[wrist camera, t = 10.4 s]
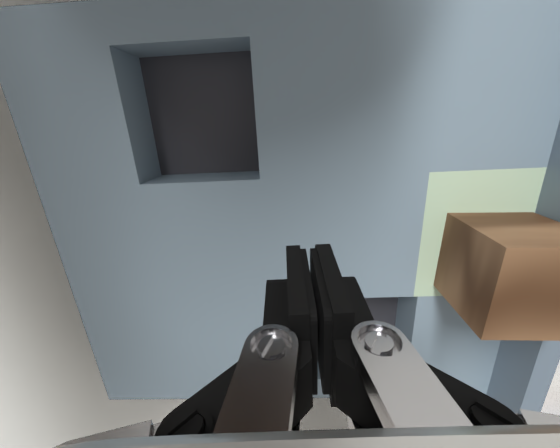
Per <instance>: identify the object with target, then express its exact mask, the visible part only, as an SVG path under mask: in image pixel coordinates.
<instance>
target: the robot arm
mask: <svg viewBox="0 0 560 448" xmlns="http://www.w3.org/2000/svg"><path fill="white" fill-rule="evenodd" d="M286 262H287V279H276V280H267V282H266V293H265V305H264V317H263V326H261V327H259V328H257V329H255V330H253V331H252V332H251V333H250V334H249V335H248V337H247V338H246V340H245V343H244V345H243V348H242V351H241V354H240V357H239V360H238V362H236V363H235V364H234V365H232V366H231V367H230V368H228V369H227V370H226V371H225V372H223V373H222V374H221V375H219V376H218V377H217V378H215V379H214V380H213V381H211V382H210V383H209V384H207V385H206V386H205V387H203V388H202V389H201V390H199V391H198V392H197V393H195V394H194V395H193V396H191V397H190V398H189V399H187V400H186V401H185V402H183V403H182V404H181V405H179V406H178V407H177V408H175V409H174V410H173V411H172V412H170V413H169V414H168V415H167V416H166V417H165V418H164V419H163V421H162V422H161V423H157V424H153V423H152V420H149V421H145V422H141V423H137V424H133V425H129V426H125V427H121V428H117V429H114V430H110V431H106V432H102V433H98V434H94V435H90V436H86V437H82V438H78V439H75V440H71V441H67V442H65V443H63V444H60V445H58V446H56V447H54V448H560V416H559V415H554V414H548V413H542V412H536V411H531V410H525V409H519V411H518V413H514V412H513V411H512V410H511V409H509V408H508V407H507V406H505V405H503V404H502V403H500V402H499V401H497V400H495V399H493V398H492V397H490V396H488V395H486V394H484V393H482V392H480V391H478V390H477V389H475V388H473V387H471V386H469V385H467V384H465V383H463V382H462V381H460V380H458V379H456V378H454V377H452V376H450V375H448V374H447V373H445V372H443V371H441V370H439V369H437V368H435V367H433V366H432V365H430V364H428V363H426V362H425V361H424V360H423V358H422V357H421V356H420V354H419V353H418V352H417V350H416V349H415V348H414V346H413V345H412V344H411V342H410V341H409V340H408V338H407V337H406V336H405V335H404V334H403V333H402V332H401V331H400V330H399V329H398V328H396V327H394V326H393V325H391V324H388V323H385V322H381V321H374V318H373V316H372V314H371V312H370V309H369V307H368V305H367V302H366V300H365V298H364V296H363V293H362V291H361V289H360V287H359V284H358V282H357V280H356V278H355V277H354V276H350V277H342V275H341V273H340V270H339V267H338V264H337V262H336V259H335V256H334V253H333V250H332V248H331V245H330V244H315V248H310V269H309V264H308V258H307V252H306V249H300V245H290V246H286ZM318 366H319V373H320V379H321V386H322V393H323V395H328V394H329V396H330V402H331V407H337V408H339V409H340V410H341V411H342V412H344V413H345V414H346V415H347V423H348V427H349V429H337V430H304V431H301V419H302V418H303V417H304V416H305V415H306V414H307V412H308V411H309V410H310V409H311V408H312V407H313V395H317V394H318Z"/></svg>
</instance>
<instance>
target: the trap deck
mask: <svg viewBox="0 0 560 448" xmlns="http://www.w3.org/2000/svg"><path fill="white" fill-rule="evenodd" d="M0 84H1V86H2V89H3V92H4V95H5V98H6V101H7V104H8V107H9V110H10V113H11V116H12V118H13V121H14V124H15V127H16V130H17V133H18V136H19V139H20V142H21V145H22V147H23V150H24V153H25V156H26V159H27V162H28V165H29V168H30V171H31V174H32V176H33V179H34V182H35V185H36V188H37V191H38V194H39V197H40V200H41V203H42V205H43V208H44V211H45V214H46V217H47V220H48V223H49V226H50V229H51V232H52V234H53V237H54V240H55V243H56V246H57V249H58V252H59V255H60V258H61V261H62V263H63V266H64V269H65V272H66V275H67V278H68V281H69V284H70V287H71V290H72V292H73V295H74V298H75V301H76V304H77V307H78V310H79V313H80V316H81V319H82V322H83V324H84V327H85V330H86V333H87V336H88V339H89V342H90V345H91V348H92V351H93V353H94V356H95V359H96V362H97V365H98V368H99V371H100V374H101V377H102V380H103V382H104V385H105V388H106V391H107V394H108V397H109V399H189V398H190V397H191V396H193V395H194V394H195V393H197V392H198V391H199V390H201V389H202V388H203V387H205V386H206V385H207V384H209V383H210V382H211V381H213V380H214V379H215V378H217V377H218V376H219V375H221V374H222V373H223V372H225V371H226V370H227V369H228V368H230V367H231V366H232V365H234V364H235V363H236V362H238V360H239V357H240V354H241V351H242V348H243V345H244V343H245V340H246V338H247V337H248V335H249V334H250V333H251V332H252V331H253V330H255V329H257V328H259V327H261V326H263V317H264V305H265V293H266V282H267V280H276V279H287V262H286V246H290V245H300V249H306V252H307V258H308V264H309V269H310V248H315V244H330V245H331V248H332V250H333V253H334V256H335V259H336V262H337V264H338V267H339V270H340V273H341V275H342V277H350V276H354V277H355V278H356V280H357V282H358V284H359V287H360V289H361V291H362V293H363V296H364V298H365V300H366V302H367V305H368V307H369V309H370V312H371V314H372V316H373V318H374V321H381V322H385V323H388V324H391V325H393V326H394V327H396V328H398V329H399V330H400V331H401V332H402V333H403V334H404V335H405V336H406V337H407V338H408V340H409V341H410V342H411V344H412V345H413V346H414V348H415V349H416V350H417V352H418V353H419V354H420V356H421V357H422V358H423V360H424V361H425V362H426V363H428V364H430V365H432V366H433V367H435V368H437V369H439V370H441V371H443V372H445V373H447V374H448V375H450V376H452V377H454V378H456V379H458V380H460V381H462V382H463V383H465V384H467V385H469V386H471V387H473V388H475V389H477V390H478V391H480V392H482V393H484V394H486V395H488V396H490V397H492V398H493V399H495V400H497V401H499V402H500V403H502V404H503V405H505V406H507V407H508V408H509V409H511V410H512V411H513V412H514V413H518V411H519V409H525V410H531V411H536V412H541V409H542V406H543V403H544V401H545V398H546V395H547V392H548V390H549V387H550V384H551V381H552V379H553V376H554V373H555V370H556V368H557V365H558V362H559V360H560V341H532V340H480V338H479V337H478V336H477V335H476V334H475V333H474V331H473V330H472V329H471V328H470V327H469V326H468V325H467V323H466V322H465V321H464V320H463V319H462V318H461V316H460V315H459V314H458V313H457V312H456V311H455V310H454V308H453V307H452V306H451V305H450V304H449V303H448V302H447V300H446V299H445V298H444V297H443V296H442V295H441V293H440V292H439V291H438V290H437V289H436V288H435V287H434V285H433V284H434V279H435V274H436V269H437V263H438V258H439V253H440V248H441V242H442V237H443V232H444V227H445V222H446V216H447V213H485V212H534V213H537V214H539V215H542V216H545V217H547V218H550V219H552V220H555V221H558V222H560V0H86V1H73V2H59V3H45V4H31V5H18V6H4V7H0ZM313 398H330V396H329V394H328V395H323V393H322V386H321V379H320V373H319V366H318V394H317V395H313Z"/></svg>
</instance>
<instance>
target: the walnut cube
mask: <svg viewBox="0 0 560 448" xmlns="http://www.w3.org/2000/svg"><path fill="white" fill-rule="evenodd" d="M433 285H434V287H435V288H436V289H437V290H438V291H439V292H440V293H441V295H442V296H443V297H444V298H445V299H446V300H447V302H448V303H449V304H450V305H451V306H452V307H453V308H454V310H455V311H456V312H457V313H458V314H459V315H460V316H461V318H462V319H463V320H464V321H465V322H466V323H467V325H468V326H469V327H470V328H471V329H472V330H473V331H474V333H475V334H476V335H477V336H478V337H479V338H480V340H532V341H560V222H558V221H555V220H552V219H550V218H547V217H545V216H542V215H539V214H537V213H534V212H485V213H447V216H446V222H445V227H444V232H443V237H442V242H441V248H440V253H439V258H438V263H437V269H436V274H435V279H434V284H433Z"/></svg>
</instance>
